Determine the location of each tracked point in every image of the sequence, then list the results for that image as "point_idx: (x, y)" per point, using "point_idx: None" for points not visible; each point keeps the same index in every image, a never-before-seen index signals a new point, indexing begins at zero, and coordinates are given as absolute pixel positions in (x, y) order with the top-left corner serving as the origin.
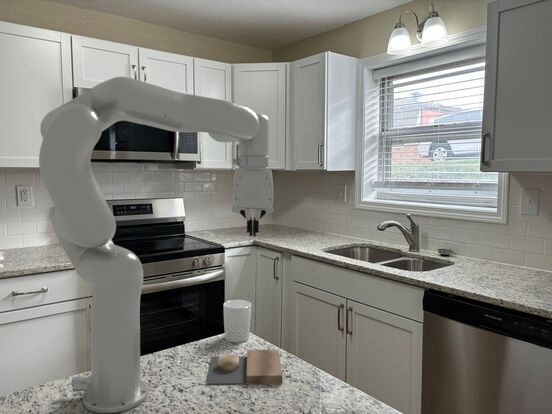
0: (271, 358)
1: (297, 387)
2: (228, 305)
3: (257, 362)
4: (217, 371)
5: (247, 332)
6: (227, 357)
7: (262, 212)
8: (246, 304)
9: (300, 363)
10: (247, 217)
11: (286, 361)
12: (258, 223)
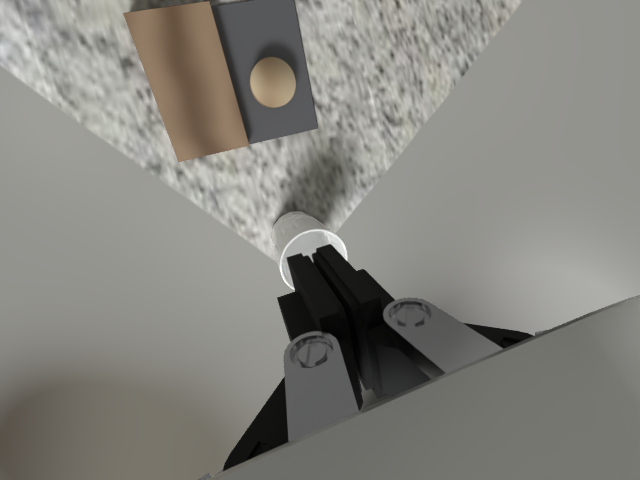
0: (180, 108)
1: (85, 5)
2: None
3: (206, 80)
4: (286, 58)
5: (274, 233)
6: (278, 89)
7: (268, 450)
8: None
9: (118, 138)
10: (422, 316)
11: (155, 142)
12: (291, 336)
